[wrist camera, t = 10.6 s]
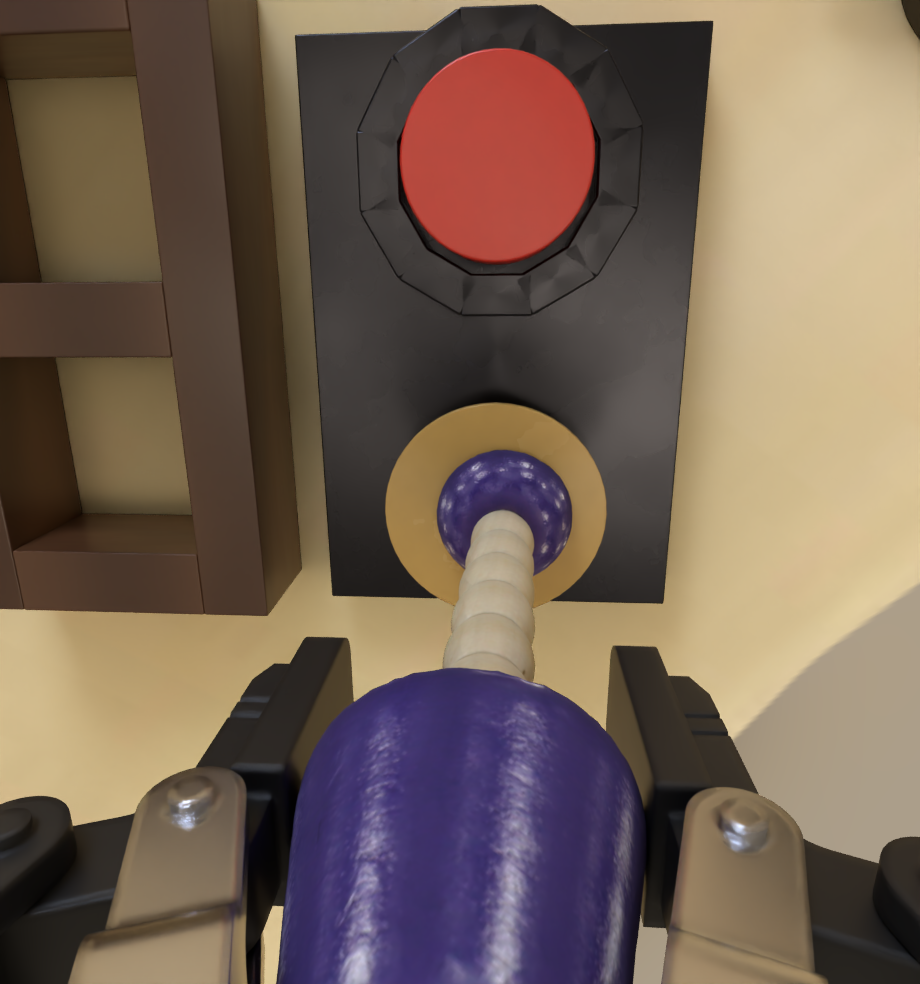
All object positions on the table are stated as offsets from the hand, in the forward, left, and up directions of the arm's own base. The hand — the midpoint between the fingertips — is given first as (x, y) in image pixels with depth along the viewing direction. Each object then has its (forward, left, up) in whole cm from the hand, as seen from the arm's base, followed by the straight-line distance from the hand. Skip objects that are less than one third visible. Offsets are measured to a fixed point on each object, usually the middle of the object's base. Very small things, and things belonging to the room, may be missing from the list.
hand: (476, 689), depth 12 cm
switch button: (-10, 0, -11) cm, 15 cm away
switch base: (-5, 0, -14) cm, 15 cm away
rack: (-6, -13, -14) cm, 20 cm away
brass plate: (0, 0, -10) cm, 10 cm away
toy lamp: (0, 0, -10) cm, 10 cm away
